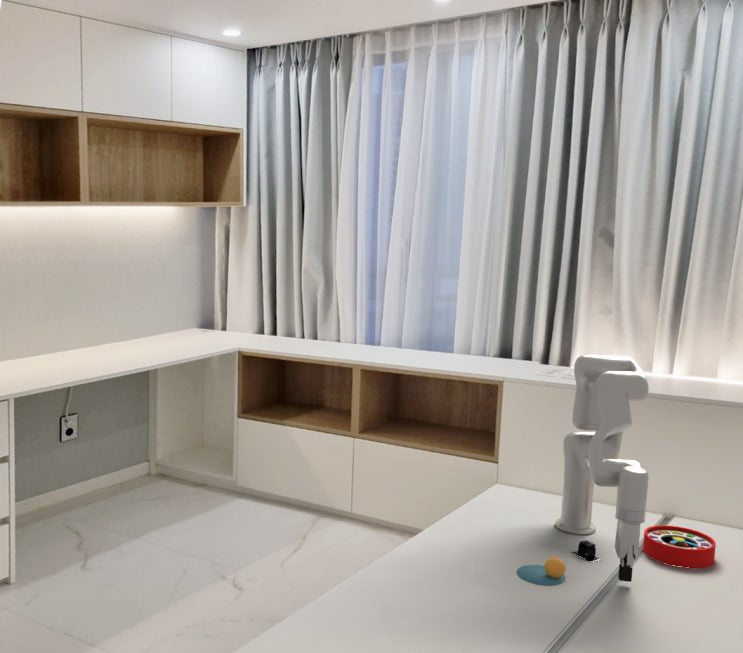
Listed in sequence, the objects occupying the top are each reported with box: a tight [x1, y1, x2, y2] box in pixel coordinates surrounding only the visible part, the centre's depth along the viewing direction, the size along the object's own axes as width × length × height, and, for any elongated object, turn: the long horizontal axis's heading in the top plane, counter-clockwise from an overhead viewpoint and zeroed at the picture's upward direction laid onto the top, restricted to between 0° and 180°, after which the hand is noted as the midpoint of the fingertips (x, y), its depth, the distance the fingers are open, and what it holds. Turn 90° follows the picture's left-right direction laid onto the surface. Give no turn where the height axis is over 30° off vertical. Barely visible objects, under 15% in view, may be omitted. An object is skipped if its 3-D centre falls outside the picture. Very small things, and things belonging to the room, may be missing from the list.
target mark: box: [516, 564, 566, 586], centre depth 214 cm, size 13×13×1 cm
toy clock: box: [642, 524, 717, 569], centre depth 234 cm, size 20×6×20 cm
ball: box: [544, 556, 566, 578], centre depth 213 cm, size 6×6×6 cm
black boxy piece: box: [570, 539, 599, 562], centre depth 230 cm, size 12×7×5 cm, turn 28°
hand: (624, 579), depth 210 cm, fingers closed
